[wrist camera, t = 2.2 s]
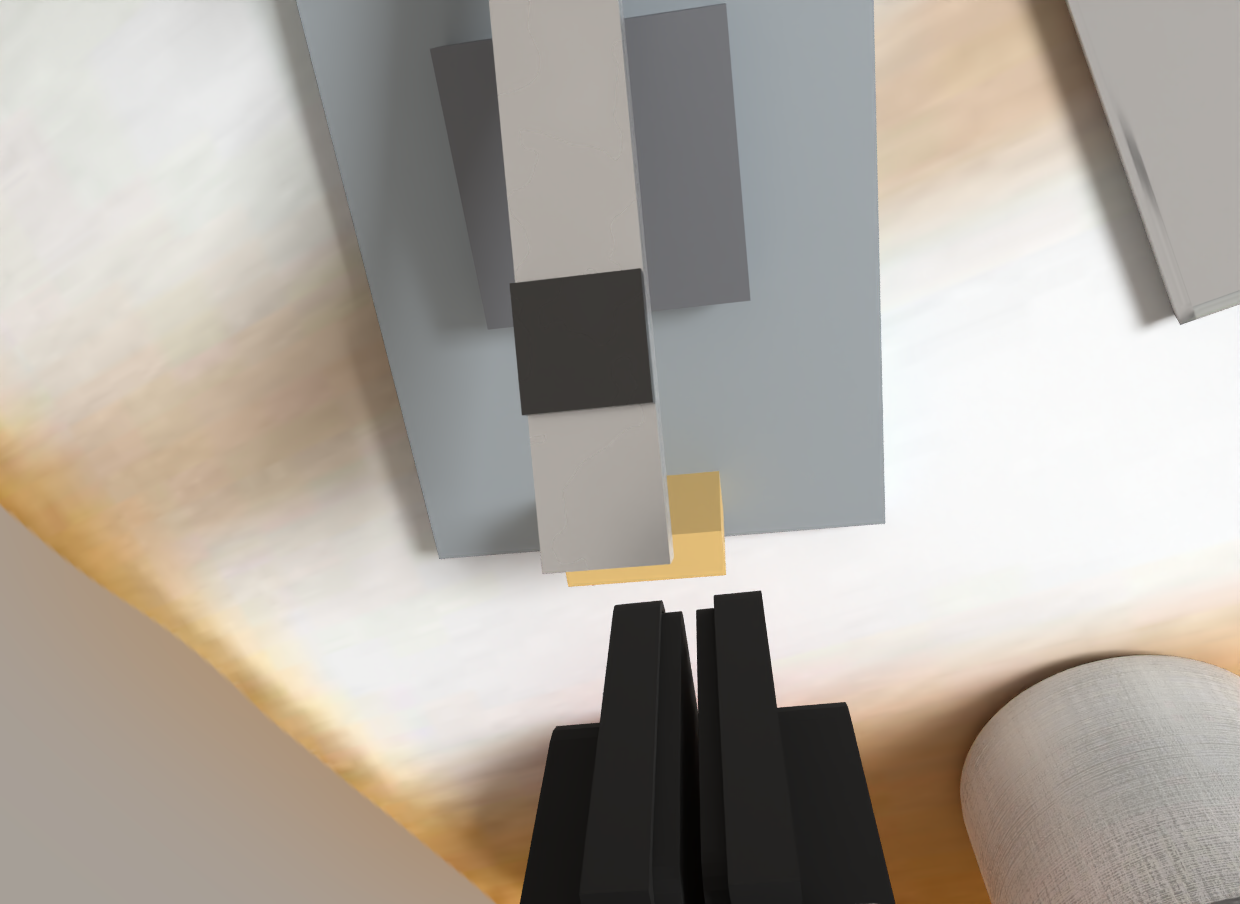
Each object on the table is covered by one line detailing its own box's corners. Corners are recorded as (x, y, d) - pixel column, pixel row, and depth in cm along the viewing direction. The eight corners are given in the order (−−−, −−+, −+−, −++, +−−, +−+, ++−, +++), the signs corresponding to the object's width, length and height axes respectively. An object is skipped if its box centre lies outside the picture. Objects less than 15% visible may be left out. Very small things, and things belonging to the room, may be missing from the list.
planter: (921, 855, 41) (991, 1132, 31) (1001, 621, 36) (1117, 866, 26) (1212, 894, 41) (1376, 1186, 31) (1338, 664, 36) (1587, 929, 26)
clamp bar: (469, -199, 23) (446, -254, 22) (614, -225, 23) (603, -284, 21) (541, 567, 24) (524, 578, 22) (686, 556, 23) (681, 566, 21)
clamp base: (246, -258, 26) (130, -320, 20) (857, -379, 23) (901, -482, 18) (447, 541, 36) (404, 635, 31) (879, 506, 34) (911, 600, 29)
